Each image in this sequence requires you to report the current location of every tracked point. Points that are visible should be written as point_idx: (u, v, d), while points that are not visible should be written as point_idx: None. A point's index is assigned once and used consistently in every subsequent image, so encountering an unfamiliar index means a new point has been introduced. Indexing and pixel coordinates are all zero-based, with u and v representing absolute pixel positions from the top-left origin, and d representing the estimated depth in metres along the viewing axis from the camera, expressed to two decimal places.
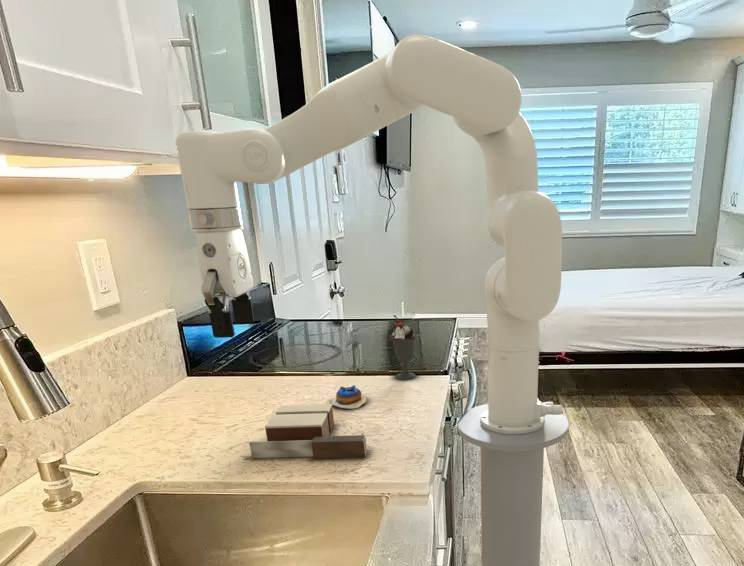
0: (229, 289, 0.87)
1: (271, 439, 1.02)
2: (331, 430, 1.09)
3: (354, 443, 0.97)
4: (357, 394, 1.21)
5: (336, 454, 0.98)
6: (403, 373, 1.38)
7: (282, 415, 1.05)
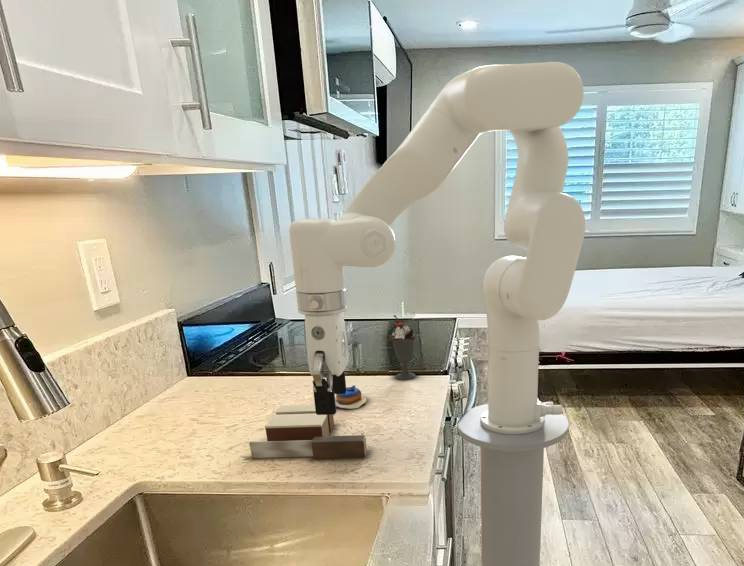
0: (334, 370, 0.88)
1: (271, 439, 1.02)
2: (331, 430, 1.09)
3: (354, 443, 0.97)
4: (357, 394, 1.21)
5: (336, 454, 0.98)
6: (403, 373, 1.38)
7: (282, 415, 1.05)
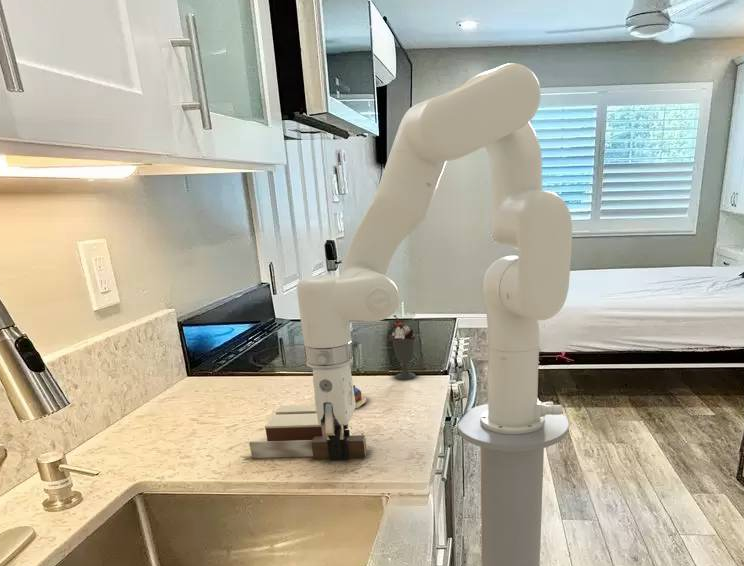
0: (342, 420, 0.92)
1: (271, 439, 1.02)
2: None
3: (354, 443, 0.97)
4: (357, 394, 1.21)
5: None
6: (403, 373, 1.38)
7: (282, 415, 1.05)
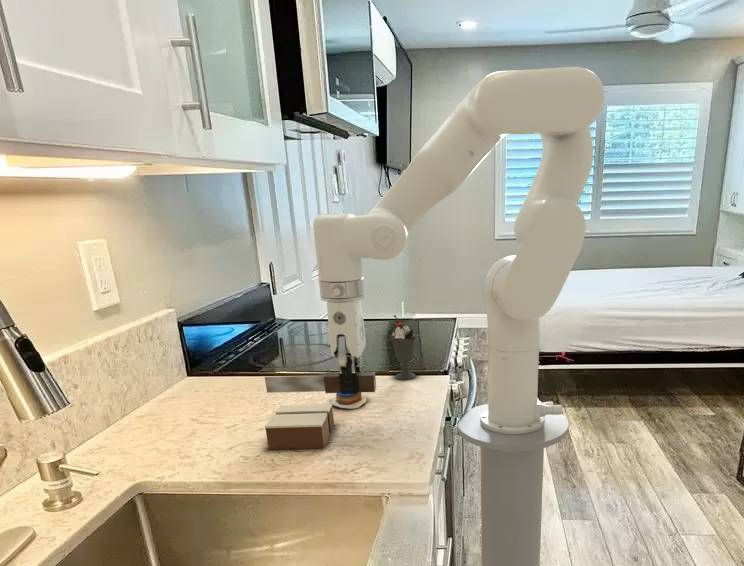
0: (354, 352, 0.97)
1: (271, 439, 1.02)
2: (331, 430, 1.09)
3: (365, 378, 1.03)
4: (357, 394, 1.21)
5: None
6: (403, 373, 1.38)
7: (282, 415, 1.05)
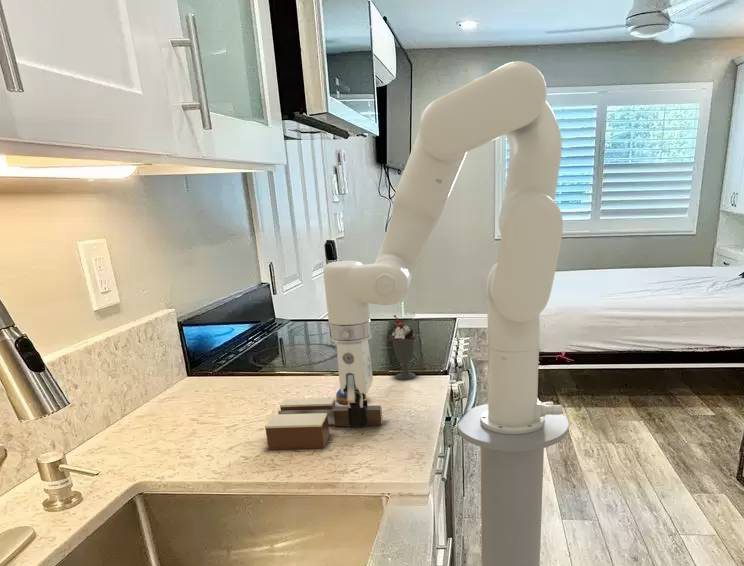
0: (362, 389, 1.04)
1: (271, 439, 1.02)
2: None
3: (372, 412, 1.09)
4: None
5: None
6: (403, 373, 1.38)
7: (282, 415, 1.05)
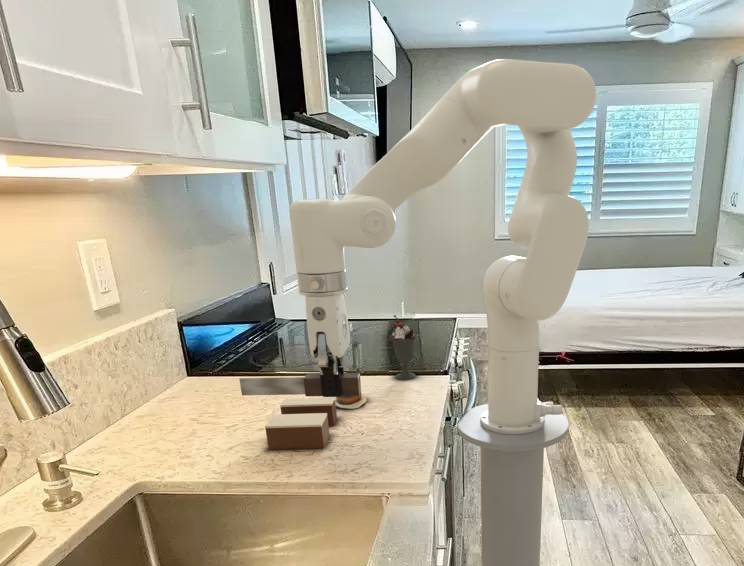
0: (335, 351, 0.88)
1: (271, 439, 1.02)
2: (334, 423, 1.12)
3: (348, 380, 0.94)
4: None
5: None
6: (403, 373, 1.38)
7: (282, 415, 1.05)
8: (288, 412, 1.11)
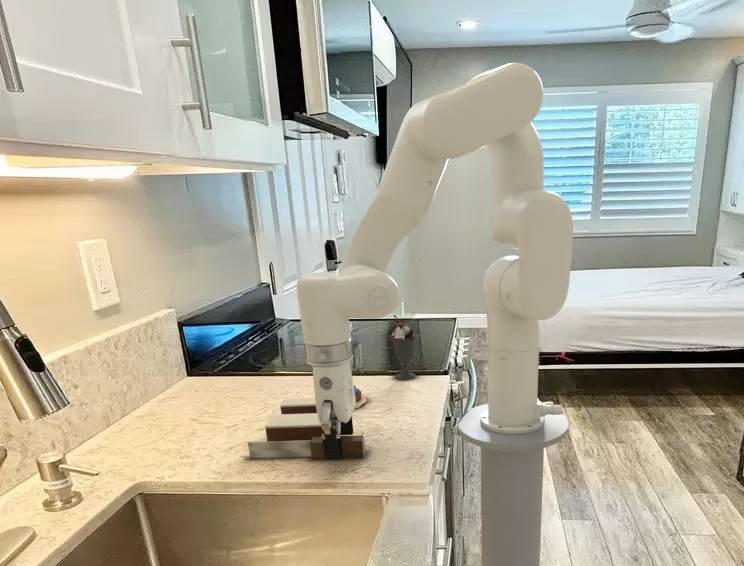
0: (342, 417, 0.92)
1: (271, 439, 1.02)
2: None
3: (353, 443, 0.97)
4: (357, 394, 1.21)
5: None
6: (403, 373, 1.38)
7: (282, 415, 1.05)
8: (288, 412, 1.11)
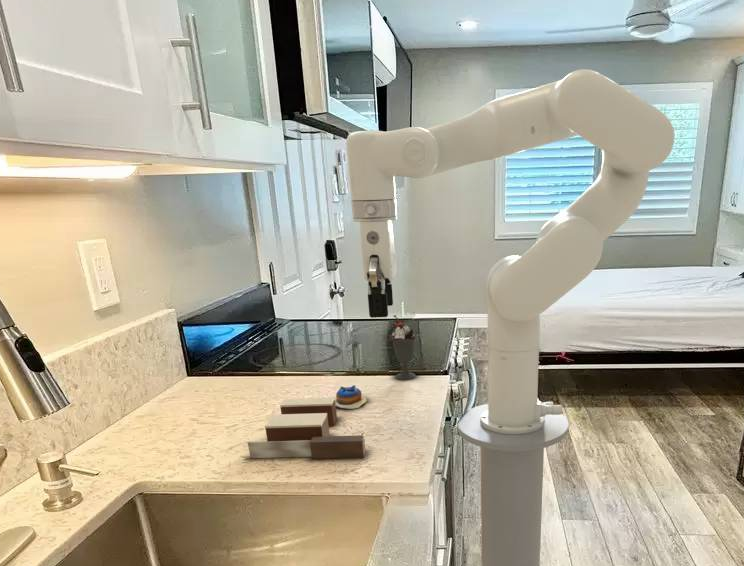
0: (387, 273, 0.96)
1: (271, 439, 1.02)
2: (334, 423, 1.12)
3: (353, 443, 0.97)
4: (357, 394, 1.21)
5: (335, 454, 0.98)
6: (403, 373, 1.38)
7: (282, 415, 1.05)
8: (288, 412, 1.11)
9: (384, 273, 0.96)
